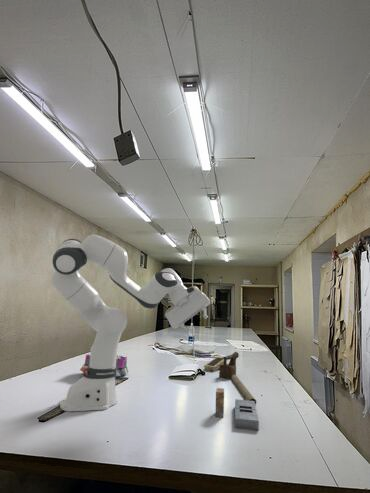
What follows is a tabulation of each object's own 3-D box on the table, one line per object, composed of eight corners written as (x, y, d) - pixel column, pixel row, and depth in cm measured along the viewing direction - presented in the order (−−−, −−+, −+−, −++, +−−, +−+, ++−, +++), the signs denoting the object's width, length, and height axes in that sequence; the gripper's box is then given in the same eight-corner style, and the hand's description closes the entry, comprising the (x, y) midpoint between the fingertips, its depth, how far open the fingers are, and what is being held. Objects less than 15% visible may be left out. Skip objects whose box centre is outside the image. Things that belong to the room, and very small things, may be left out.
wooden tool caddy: (242, 375, 184) (242, 352, 186) (230, 379, 171) (230, 355, 174) (230, 373, 188) (231, 351, 191) (218, 377, 176) (218, 353, 178)
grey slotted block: (235, 427, 105) (235, 418, 105) (235, 406, 126) (235, 399, 127) (258, 430, 104) (258, 420, 104) (254, 408, 125) (254, 401, 125)
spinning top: (103, 382, 150) (108, 350, 154) (68, 374, 165) (73, 345, 169) (137, 378, 172) (141, 350, 176) (103, 371, 186) (107, 346, 190)
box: (227, 365, 206) (226, 357, 206) (213, 376, 186) (212, 368, 186) (216, 363, 210) (215, 356, 210) (201, 375, 190) (201, 367, 191)
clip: (215, 417, 114) (215, 391, 116) (216, 411, 119) (216, 387, 121) (223, 417, 114) (223, 392, 115) (223, 412, 119) (224, 388, 121)
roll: (237, 380, 172) (237, 375, 173) (257, 406, 130) (257, 398, 130) (230, 380, 172) (230, 374, 173) (248, 405, 130) (248, 398, 130)
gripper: (160, 311, 132) (175, 337, 124) (197, 283, 131) (214, 309, 124) (166, 313, 137) (180, 339, 130) (201, 287, 136) (218, 312, 129)
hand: (197, 324), depth 127 cm, fingers open, 8 cm apart
